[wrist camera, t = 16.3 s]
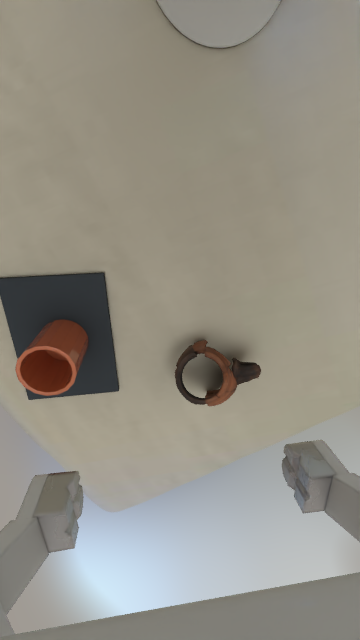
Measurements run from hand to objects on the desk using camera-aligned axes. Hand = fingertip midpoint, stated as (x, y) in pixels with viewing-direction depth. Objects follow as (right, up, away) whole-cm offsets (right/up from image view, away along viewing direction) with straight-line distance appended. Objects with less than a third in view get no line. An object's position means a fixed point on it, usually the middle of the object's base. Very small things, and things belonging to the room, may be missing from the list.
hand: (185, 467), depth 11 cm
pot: (-16, +3, +28) cm, 32 cm away
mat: (-16, +3, +28) cm, 33 cm away
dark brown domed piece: (+5, -1, +33) cm, 33 cm away
